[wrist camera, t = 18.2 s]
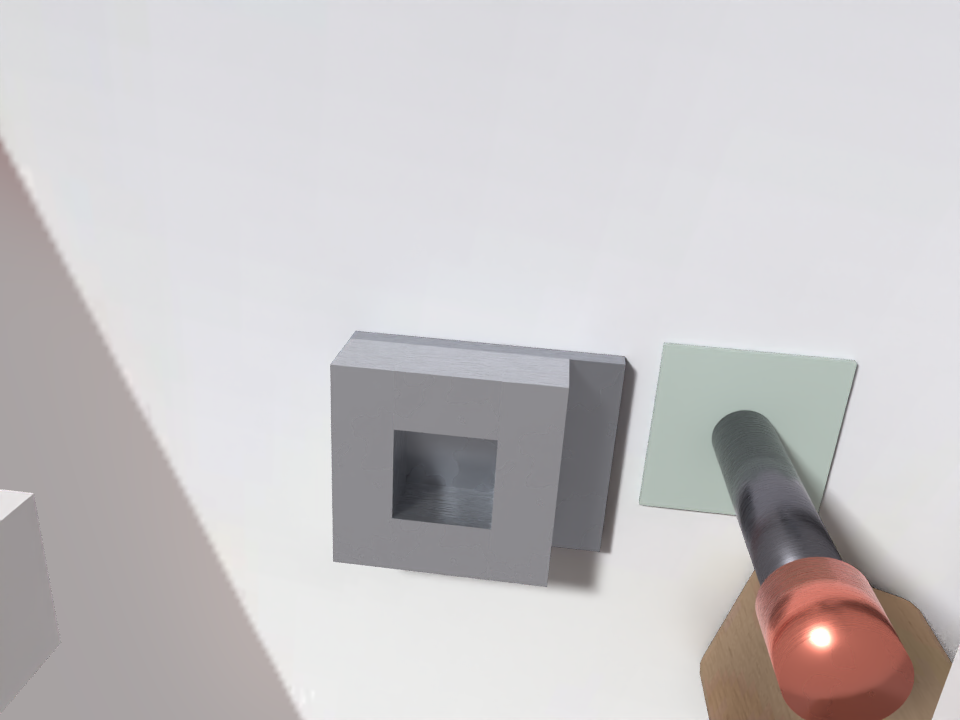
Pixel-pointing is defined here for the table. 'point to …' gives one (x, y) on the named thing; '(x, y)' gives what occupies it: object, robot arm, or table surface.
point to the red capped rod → (808, 587)
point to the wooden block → (752, 681)
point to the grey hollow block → (469, 454)
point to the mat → (733, 387)
